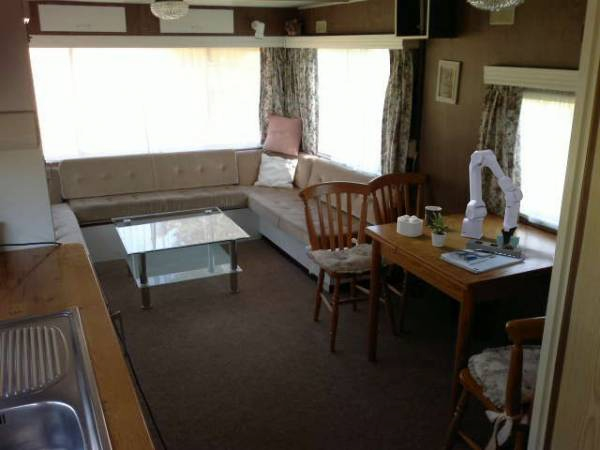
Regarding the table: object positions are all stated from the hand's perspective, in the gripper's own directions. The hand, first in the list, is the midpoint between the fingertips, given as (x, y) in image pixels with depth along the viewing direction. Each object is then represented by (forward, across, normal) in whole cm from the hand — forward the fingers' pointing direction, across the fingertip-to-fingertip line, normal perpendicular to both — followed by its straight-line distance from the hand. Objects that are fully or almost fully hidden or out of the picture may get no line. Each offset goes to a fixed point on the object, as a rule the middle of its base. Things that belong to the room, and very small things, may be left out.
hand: (507, 242), depth 265 cm
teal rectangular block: (+2, 0, 0) cm, 2 cm away
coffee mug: (+3, +12, +42) cm, 44 cm away
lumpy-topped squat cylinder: (+3, -6, +48) cm, 48 cm away
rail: (+2, -11, +4) cm, 12 cm away
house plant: (+3, -17, +30) cm, 35 cm away
